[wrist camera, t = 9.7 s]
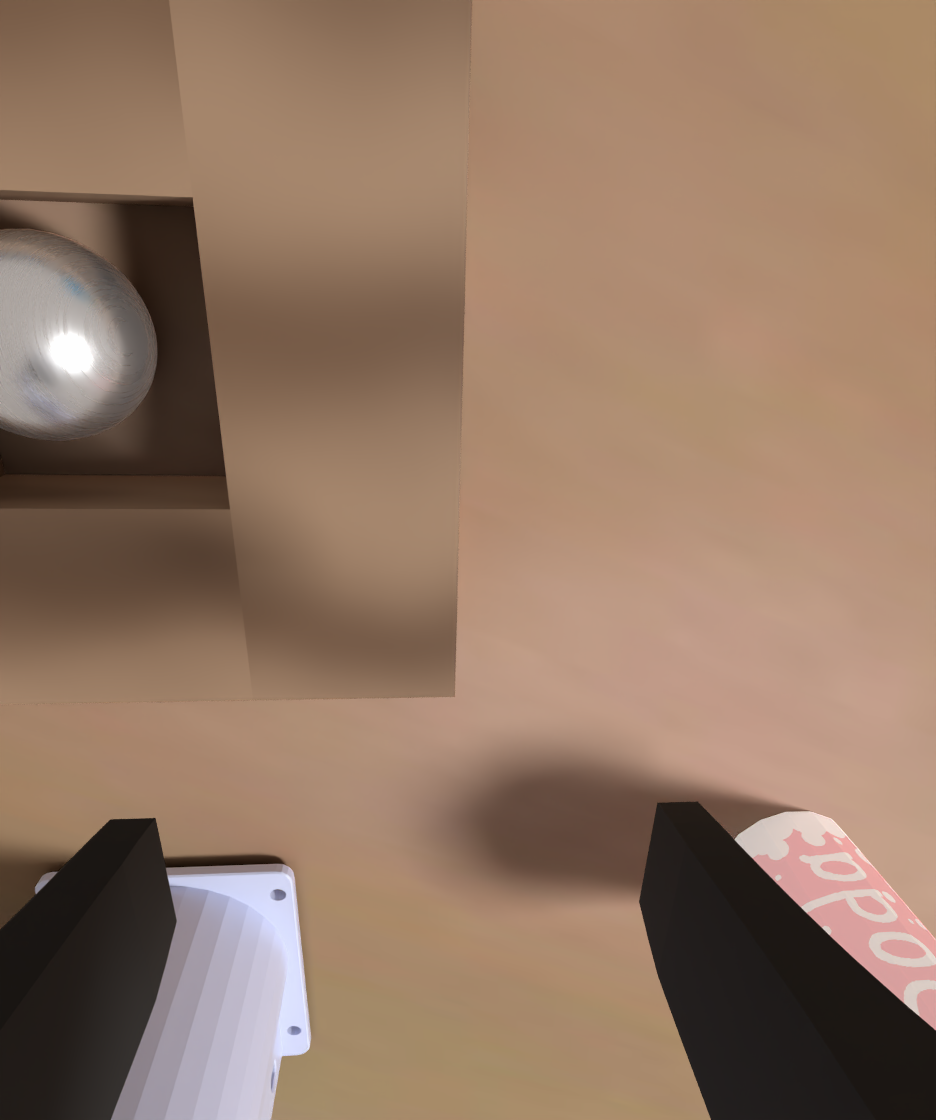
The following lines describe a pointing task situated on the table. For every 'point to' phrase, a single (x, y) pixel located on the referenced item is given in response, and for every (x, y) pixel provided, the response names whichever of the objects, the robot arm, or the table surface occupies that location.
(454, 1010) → the table surface
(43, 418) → the steel ball
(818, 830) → the beverage cup
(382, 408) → the wooden square frame
